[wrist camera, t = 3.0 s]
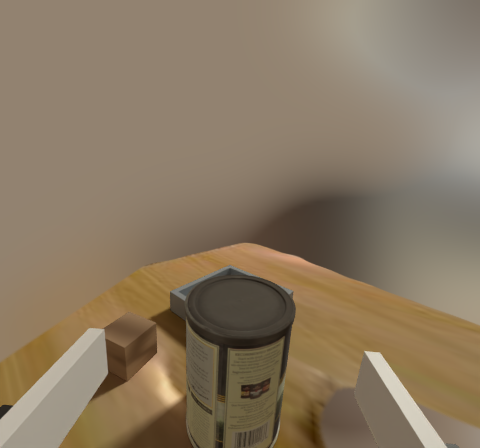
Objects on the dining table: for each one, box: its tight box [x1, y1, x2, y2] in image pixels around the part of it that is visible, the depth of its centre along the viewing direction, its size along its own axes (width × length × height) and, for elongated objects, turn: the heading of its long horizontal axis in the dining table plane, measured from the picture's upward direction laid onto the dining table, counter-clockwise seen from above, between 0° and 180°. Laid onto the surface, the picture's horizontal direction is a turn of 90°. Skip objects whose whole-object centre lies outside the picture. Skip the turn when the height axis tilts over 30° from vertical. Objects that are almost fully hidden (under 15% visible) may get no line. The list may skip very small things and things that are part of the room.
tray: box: [170, 265, 293, 321], centre depth 43 cm, size 16×16×4 cm
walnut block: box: [103, 312, 157, 381], centre depth 31 cm, size 5×5×5 cm
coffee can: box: [185, 275, 296, 448], centre depth 24 cm, size 10×10×14 cm
